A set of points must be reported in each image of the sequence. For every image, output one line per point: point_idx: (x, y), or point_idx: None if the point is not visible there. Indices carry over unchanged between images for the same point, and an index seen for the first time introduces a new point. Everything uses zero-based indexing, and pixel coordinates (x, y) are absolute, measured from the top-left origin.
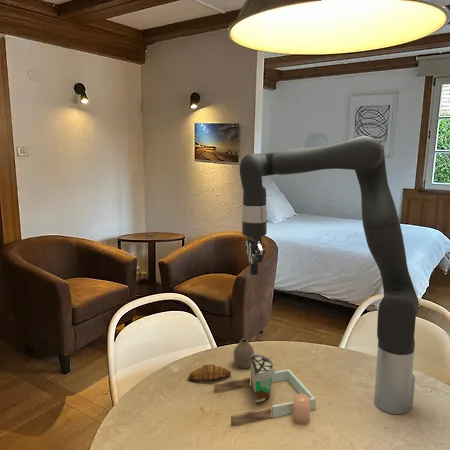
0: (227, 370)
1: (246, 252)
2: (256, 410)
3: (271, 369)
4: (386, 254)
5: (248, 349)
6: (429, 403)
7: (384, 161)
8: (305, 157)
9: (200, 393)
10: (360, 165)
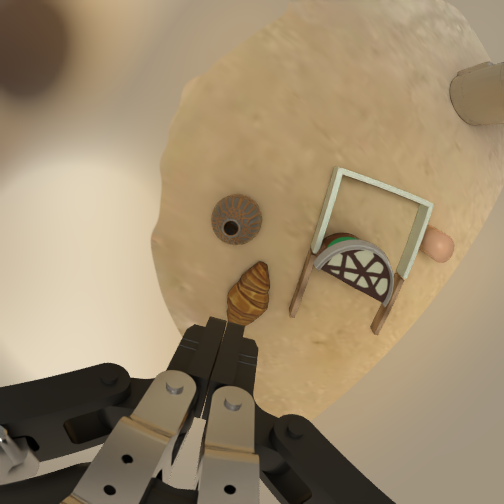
0: (261, 272)
1: (77, 436)
2: (391, 300)
3: (390, 269)
4: None
5: (252, 223)
6: (480, 62)
7: None
8: None
9: (281, 328)
10: None
